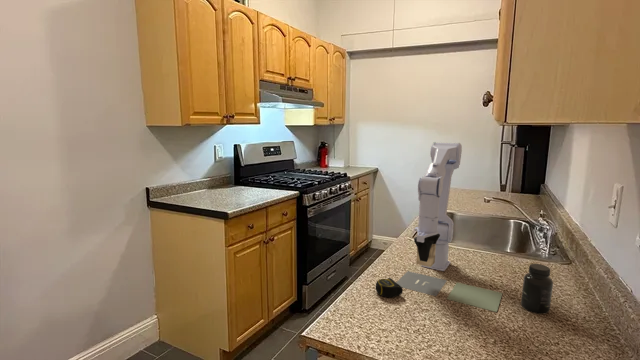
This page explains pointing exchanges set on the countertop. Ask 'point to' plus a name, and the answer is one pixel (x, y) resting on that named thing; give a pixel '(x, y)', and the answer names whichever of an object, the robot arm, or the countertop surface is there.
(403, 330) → the countertop surface
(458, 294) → the olive mat
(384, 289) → the tape measure
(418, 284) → the tile
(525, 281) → the supplement bottle
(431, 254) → the birch block
